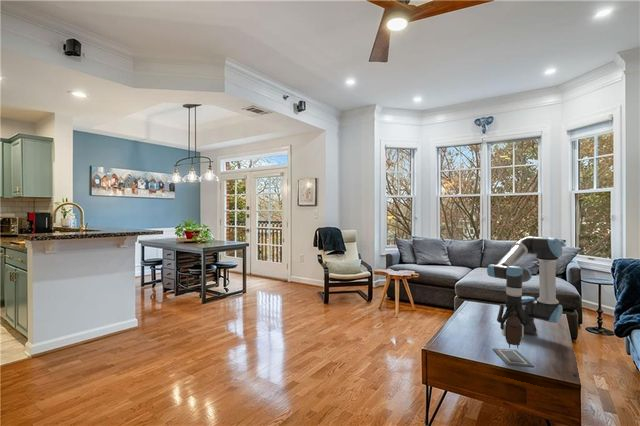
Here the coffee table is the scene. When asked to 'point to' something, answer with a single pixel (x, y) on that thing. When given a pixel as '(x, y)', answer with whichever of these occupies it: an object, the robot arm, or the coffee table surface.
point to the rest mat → (512, 357)
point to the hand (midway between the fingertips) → (512, 336)
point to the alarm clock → (513, 329)
